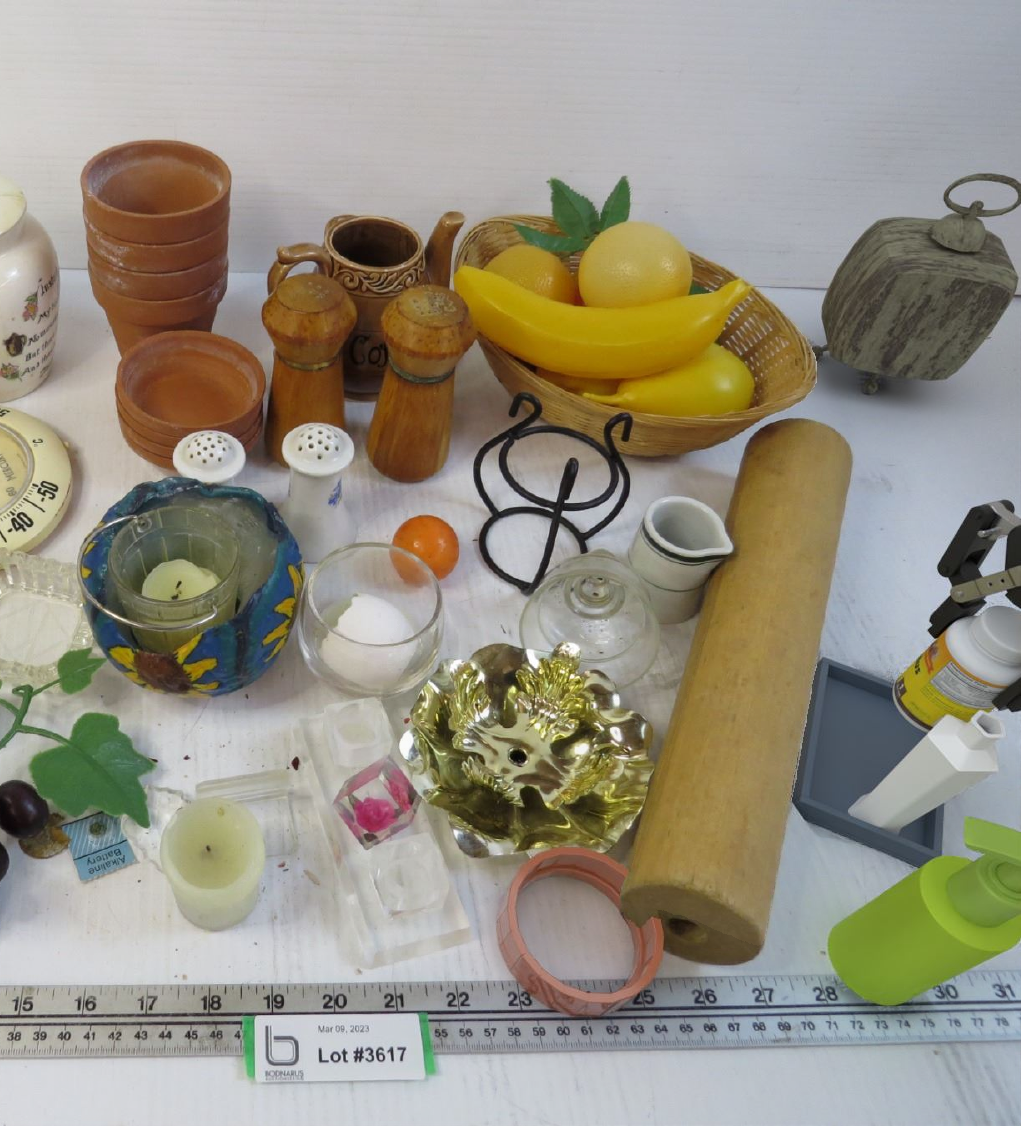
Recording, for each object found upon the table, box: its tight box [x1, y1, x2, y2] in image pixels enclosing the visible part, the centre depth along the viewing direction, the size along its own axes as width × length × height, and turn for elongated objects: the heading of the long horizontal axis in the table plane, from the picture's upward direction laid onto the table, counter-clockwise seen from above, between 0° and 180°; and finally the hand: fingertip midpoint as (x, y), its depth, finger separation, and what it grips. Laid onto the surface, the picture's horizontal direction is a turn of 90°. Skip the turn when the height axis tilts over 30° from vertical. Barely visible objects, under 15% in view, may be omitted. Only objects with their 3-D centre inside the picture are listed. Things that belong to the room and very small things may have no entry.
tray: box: [791, 656, 945, 869], centre depth 78 cm, size 15×10×2 cm
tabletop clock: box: [811, 172, 1021, 395], centre depth 100 cm, size 14×9×25 cm, turn 77°
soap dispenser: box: [827, 815, 1021, 1007], centre depth 60 cm, size 6×7×20 cm
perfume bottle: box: [848, 710, 1007, 835], centre depth 69 cm, size 5×4×15 cm
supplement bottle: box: [893, 605, 1021, 733], centre depth 68 cm, size 6×6×10 cm
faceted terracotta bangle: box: [495, 846, 665, 1018], centre depth 66 cm, size 10×10×5 cm
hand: (971, 666), depth 67 cm, fingers closed on supplement bottle, 5 cm apart
